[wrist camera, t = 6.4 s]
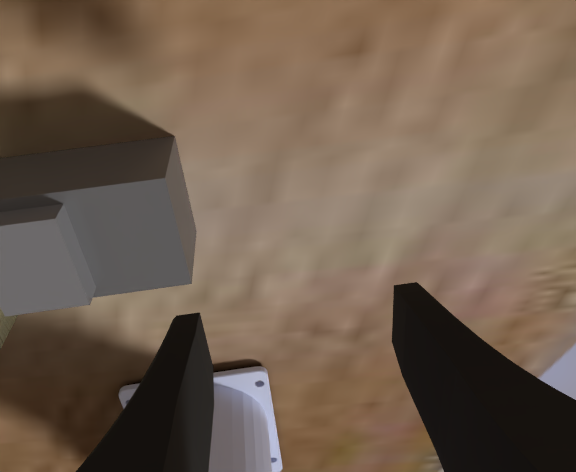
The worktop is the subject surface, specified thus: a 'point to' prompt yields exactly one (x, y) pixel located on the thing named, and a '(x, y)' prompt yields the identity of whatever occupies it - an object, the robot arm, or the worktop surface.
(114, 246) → the stepped gray box
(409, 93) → the worktop surface
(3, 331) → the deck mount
